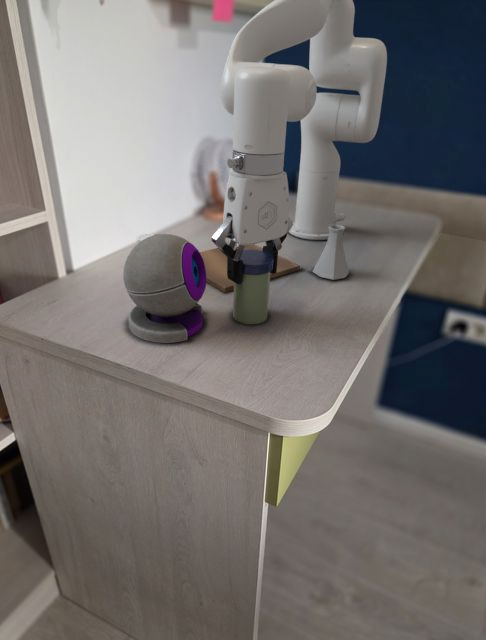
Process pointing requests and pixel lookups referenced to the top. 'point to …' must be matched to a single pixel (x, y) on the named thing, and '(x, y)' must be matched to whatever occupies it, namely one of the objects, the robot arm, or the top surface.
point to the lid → (256, 262)
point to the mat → (218, 267)
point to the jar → (251, 299)
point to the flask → (333, 256)
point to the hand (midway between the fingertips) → (252, 275)
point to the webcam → (165, 288)
